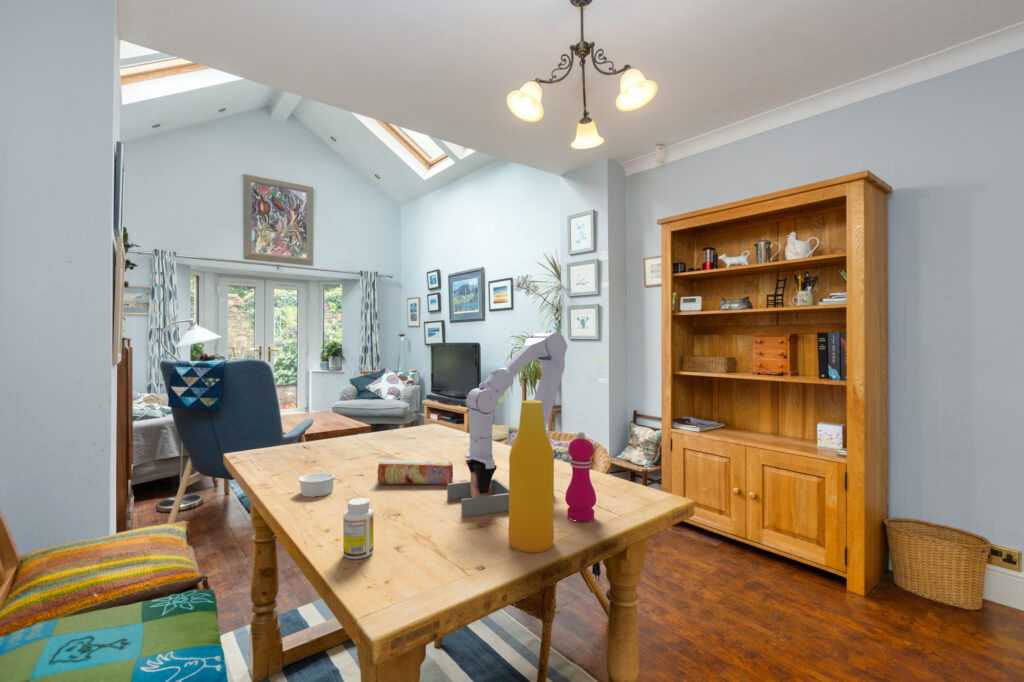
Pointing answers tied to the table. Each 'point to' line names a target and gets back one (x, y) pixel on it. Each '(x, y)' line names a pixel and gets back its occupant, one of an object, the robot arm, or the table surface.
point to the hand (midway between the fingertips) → (480, 490)
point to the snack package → (415, 472)
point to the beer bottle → (531, 483)
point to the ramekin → (316, 484)
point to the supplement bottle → (358, 529)
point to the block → (475, 487)
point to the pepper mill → (580, 481)
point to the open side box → (480, 498)
